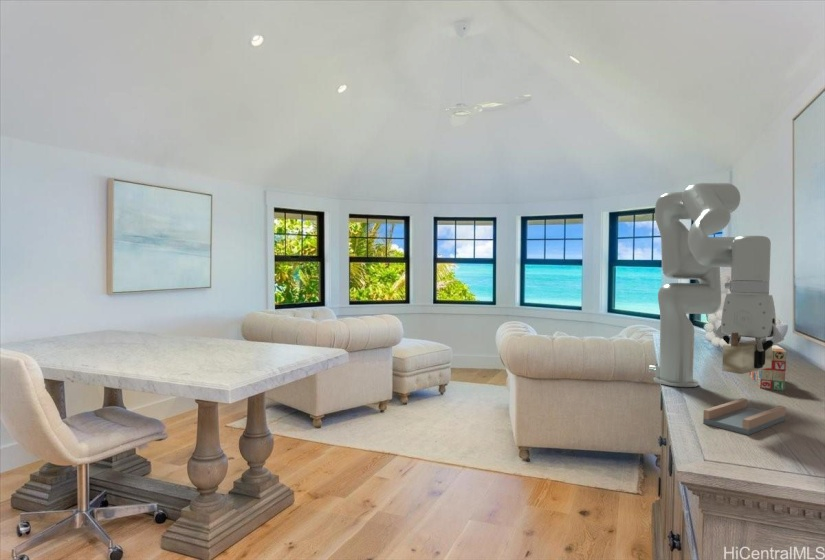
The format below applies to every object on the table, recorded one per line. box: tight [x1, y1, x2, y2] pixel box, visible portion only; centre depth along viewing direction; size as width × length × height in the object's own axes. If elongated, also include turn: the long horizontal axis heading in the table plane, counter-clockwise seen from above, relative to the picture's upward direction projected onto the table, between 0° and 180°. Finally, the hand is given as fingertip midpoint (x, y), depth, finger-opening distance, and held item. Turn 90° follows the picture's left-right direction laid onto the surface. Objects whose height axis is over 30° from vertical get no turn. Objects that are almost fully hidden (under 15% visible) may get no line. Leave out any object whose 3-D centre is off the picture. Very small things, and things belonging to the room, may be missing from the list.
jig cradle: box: [702, 397, 787, 436], centre depth 118 cm, size 9×20×3 cm, turn 125°
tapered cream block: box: [721, 332, 772, 375], centre depth 117 cm, size 4×16×9 cm, turn 125°
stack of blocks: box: [749, 344, 788, 392], centre depth 160 cm, size 21×6×12 cm, turn 154°
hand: (747, 365), depth 117 cm, fingers closed on tapered cream block, 4 cm apart
